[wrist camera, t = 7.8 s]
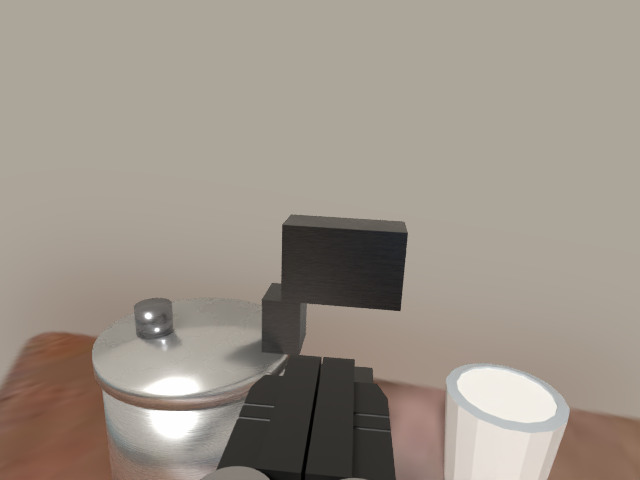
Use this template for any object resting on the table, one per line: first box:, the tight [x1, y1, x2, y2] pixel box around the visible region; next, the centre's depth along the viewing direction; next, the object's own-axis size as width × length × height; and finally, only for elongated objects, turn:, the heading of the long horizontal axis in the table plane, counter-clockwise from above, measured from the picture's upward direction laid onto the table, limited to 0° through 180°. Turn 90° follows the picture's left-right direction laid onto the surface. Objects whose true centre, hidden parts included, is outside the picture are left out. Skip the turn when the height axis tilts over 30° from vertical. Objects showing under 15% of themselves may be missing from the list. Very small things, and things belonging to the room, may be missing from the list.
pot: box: [103, 364, 373, 480], centre depth 26 cm, size 15×10×9 cm, turn 85°
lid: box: [92, 215, 408, 410], centre depth 24 cm, size 16×11×8 cm, turn 83°
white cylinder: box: [444, 363, 570, 480], centre depth 27 cm, size 7×7×7 cm
